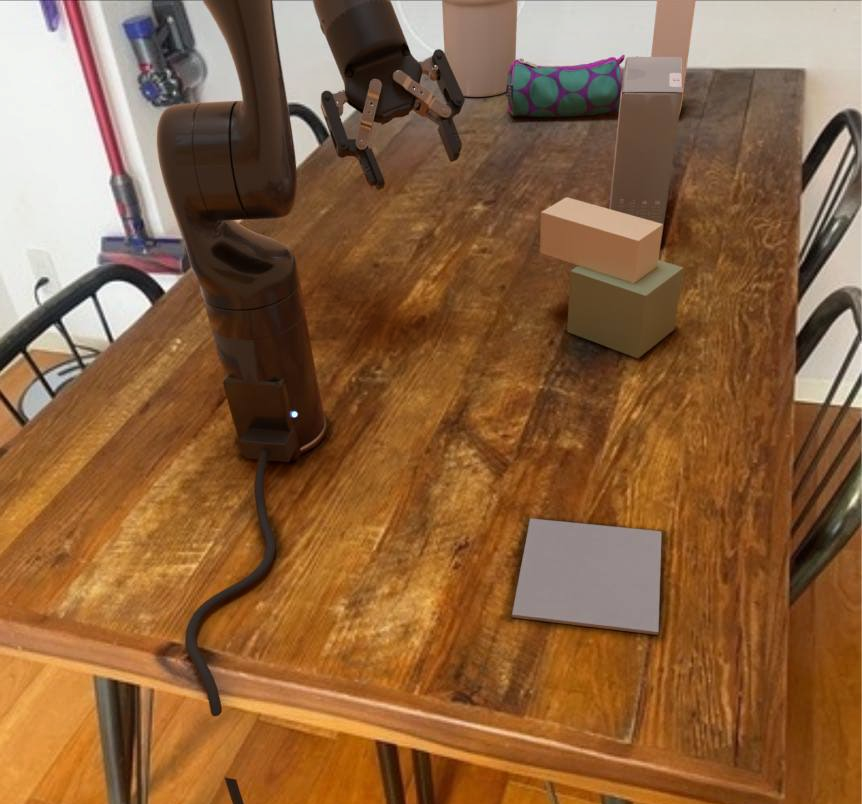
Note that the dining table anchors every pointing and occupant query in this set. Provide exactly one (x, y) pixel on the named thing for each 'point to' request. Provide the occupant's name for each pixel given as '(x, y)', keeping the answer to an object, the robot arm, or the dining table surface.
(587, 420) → the dining table surface
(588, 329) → the block
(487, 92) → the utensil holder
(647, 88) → the hard drive box
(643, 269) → the carton
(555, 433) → the dining table surface
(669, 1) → the pink rectangular pillar
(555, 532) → the mat
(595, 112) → the pencil case
